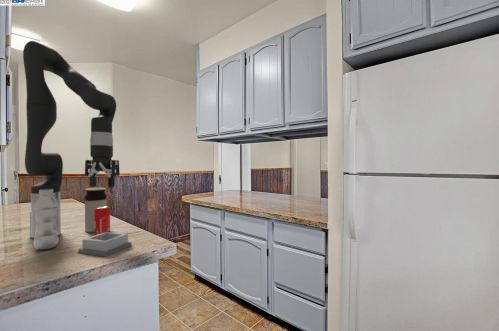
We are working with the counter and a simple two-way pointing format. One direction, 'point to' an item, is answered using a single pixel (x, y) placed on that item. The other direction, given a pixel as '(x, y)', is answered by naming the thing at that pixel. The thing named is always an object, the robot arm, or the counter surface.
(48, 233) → the plastic bottle
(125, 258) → the counter surface
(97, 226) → the beverage can
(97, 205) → the travel mug
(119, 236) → the can holder
